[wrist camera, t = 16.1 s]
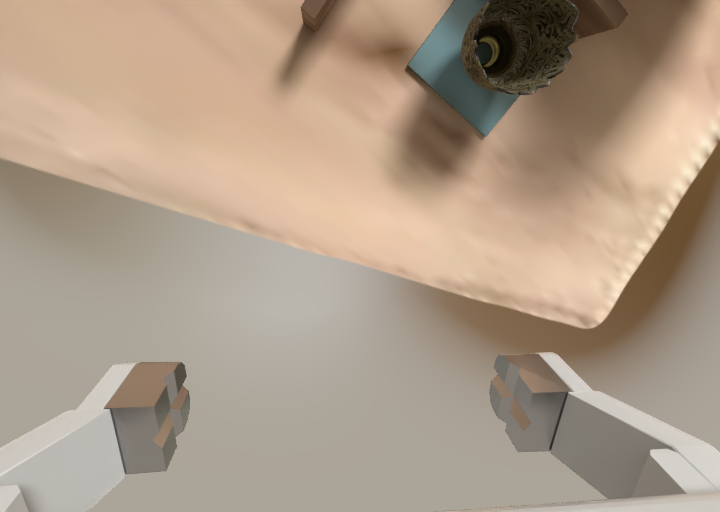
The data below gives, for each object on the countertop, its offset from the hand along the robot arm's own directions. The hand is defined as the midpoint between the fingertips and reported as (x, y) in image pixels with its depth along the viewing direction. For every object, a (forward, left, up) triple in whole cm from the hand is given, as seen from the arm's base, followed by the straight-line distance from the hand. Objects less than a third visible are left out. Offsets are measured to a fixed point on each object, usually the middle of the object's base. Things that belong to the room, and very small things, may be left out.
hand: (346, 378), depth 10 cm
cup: (-12, +14, -29) cm, 34 cm away
